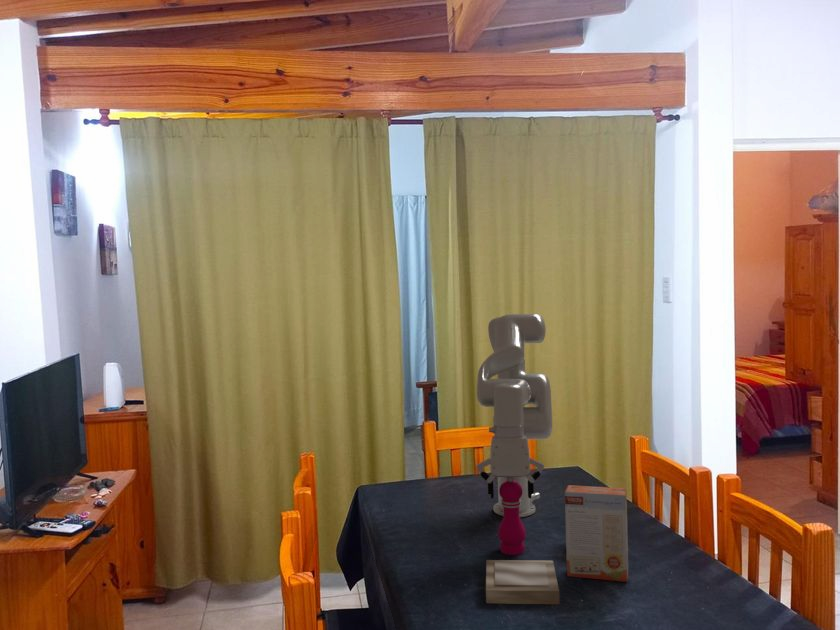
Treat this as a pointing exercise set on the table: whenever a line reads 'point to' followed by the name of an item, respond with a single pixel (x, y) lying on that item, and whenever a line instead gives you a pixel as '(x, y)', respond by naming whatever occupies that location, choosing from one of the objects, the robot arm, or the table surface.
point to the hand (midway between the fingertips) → (510, 496)
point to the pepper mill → (511, 519)
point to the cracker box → (596, 532)
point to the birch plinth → (521, 582)
